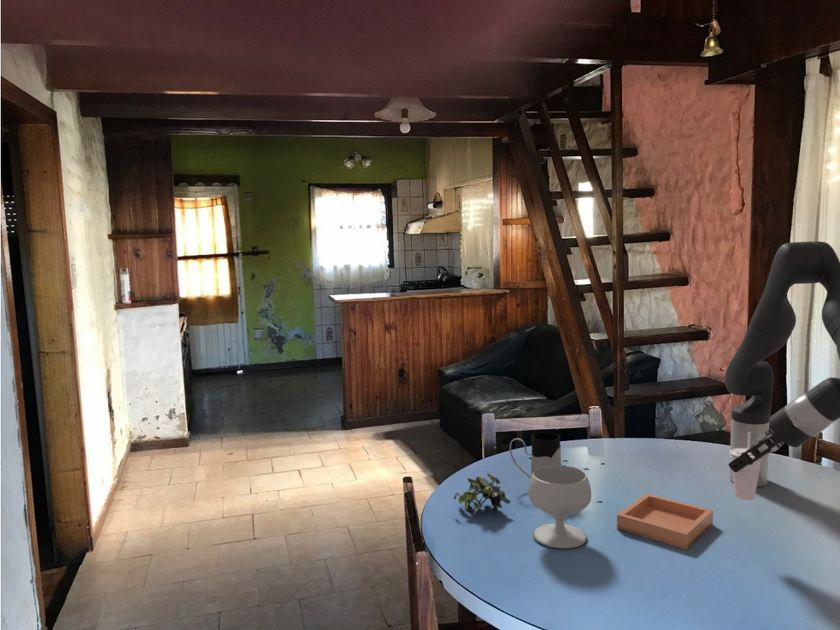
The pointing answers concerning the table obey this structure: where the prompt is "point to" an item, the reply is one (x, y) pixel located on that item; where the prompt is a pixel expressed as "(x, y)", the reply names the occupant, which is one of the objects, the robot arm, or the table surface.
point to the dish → (665, 520)
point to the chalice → (559, 503)
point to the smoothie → (745, 474)
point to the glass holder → (542, 450)
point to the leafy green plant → (486, 490)
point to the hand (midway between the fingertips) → (737, 463)
